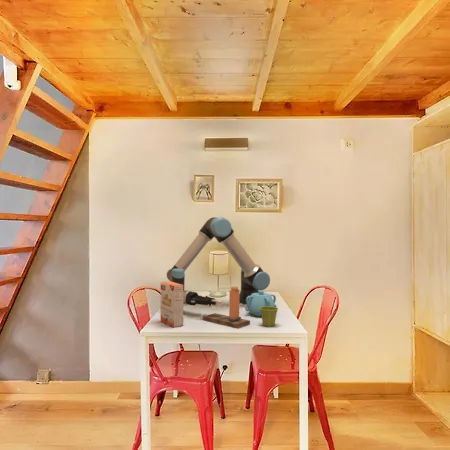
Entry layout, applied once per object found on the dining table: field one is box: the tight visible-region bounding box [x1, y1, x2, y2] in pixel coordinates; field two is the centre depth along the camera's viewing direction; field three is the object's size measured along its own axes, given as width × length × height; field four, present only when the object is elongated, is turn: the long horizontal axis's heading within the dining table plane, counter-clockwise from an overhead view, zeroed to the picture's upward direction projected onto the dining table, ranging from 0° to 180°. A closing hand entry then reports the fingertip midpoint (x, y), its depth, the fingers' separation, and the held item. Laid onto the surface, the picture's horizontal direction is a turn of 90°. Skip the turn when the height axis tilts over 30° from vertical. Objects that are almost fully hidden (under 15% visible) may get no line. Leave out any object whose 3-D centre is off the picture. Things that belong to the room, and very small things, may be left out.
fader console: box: [202, 312, 251, 329], centre depth 198 cm, size 24×10×2 cm, turn 50°
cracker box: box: [160, 280, 184, 328], centre depth 193 cm, size 14×6×21 cm, turn 38°
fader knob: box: [228, 286, 242, 321], centre depth 194 cm, size 4×6×16 cm, turn 140°
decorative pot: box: [244, 290, 277, 318], centre depth 216 cm, size 16×16×14 cm
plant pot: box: [260, 306, 279, 327], centre depth 193 cm, size 9×9×9 cm
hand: (221, 303), depth 200 cm, fingers closed
